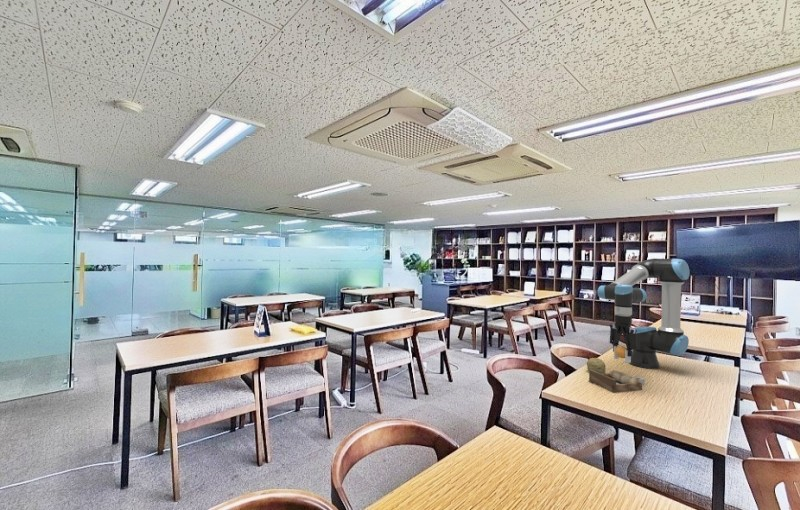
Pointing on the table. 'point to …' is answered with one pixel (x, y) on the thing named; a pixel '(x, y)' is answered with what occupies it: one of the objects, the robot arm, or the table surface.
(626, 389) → the brown wooden tray
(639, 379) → the grey square frame
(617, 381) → the mat
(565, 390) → the table surface
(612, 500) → the table surface
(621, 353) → the ball
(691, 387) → the table surface
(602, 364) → the decorative item
